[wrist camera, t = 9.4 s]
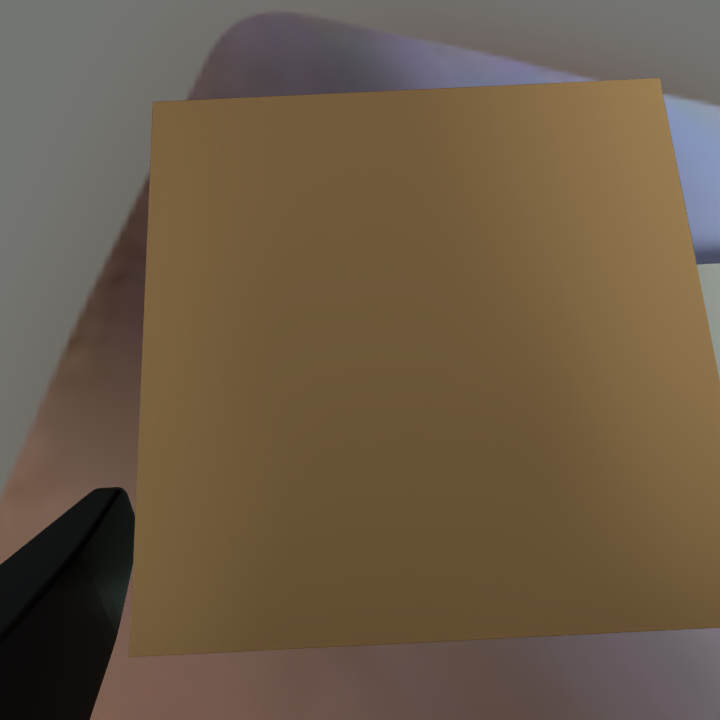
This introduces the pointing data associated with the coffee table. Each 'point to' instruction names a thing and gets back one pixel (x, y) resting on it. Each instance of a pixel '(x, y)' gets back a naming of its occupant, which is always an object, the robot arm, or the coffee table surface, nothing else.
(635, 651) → the coffee table surface
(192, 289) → the cover
